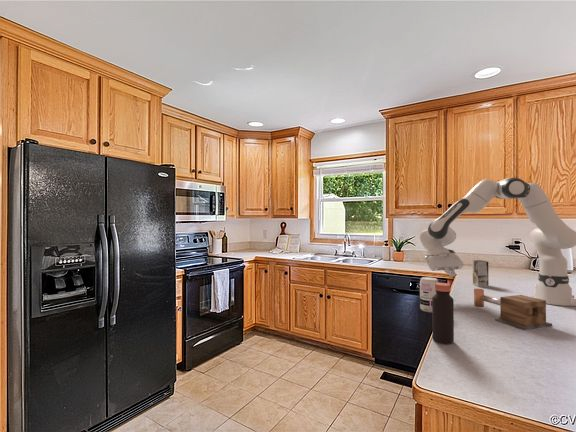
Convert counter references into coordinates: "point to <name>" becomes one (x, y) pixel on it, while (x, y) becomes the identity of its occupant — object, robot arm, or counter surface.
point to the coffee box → (480, 273)
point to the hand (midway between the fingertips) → (453, 275)
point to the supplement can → (427, 293)
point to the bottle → (442, 314)
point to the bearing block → (523, 312)
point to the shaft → (483, 298)
